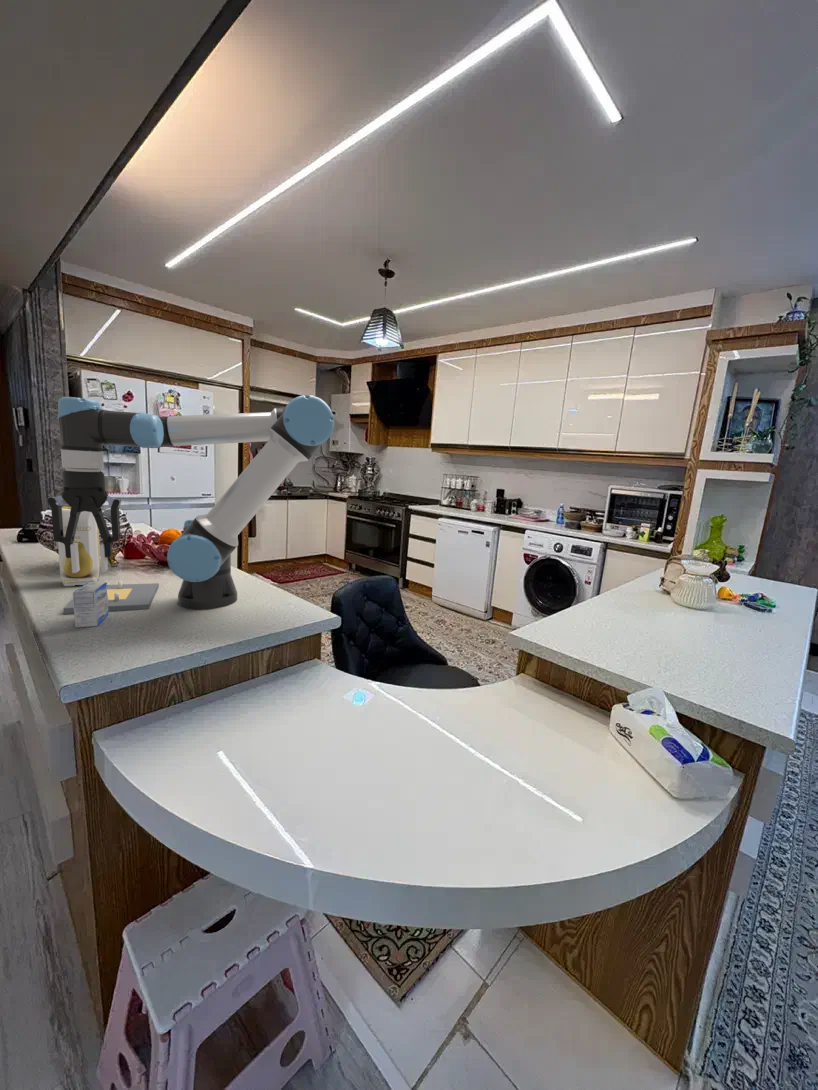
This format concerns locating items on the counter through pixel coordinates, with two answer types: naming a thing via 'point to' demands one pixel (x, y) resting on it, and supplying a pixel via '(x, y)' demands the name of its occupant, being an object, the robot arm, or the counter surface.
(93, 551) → the juice carton
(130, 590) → the board
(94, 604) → the medicine box
